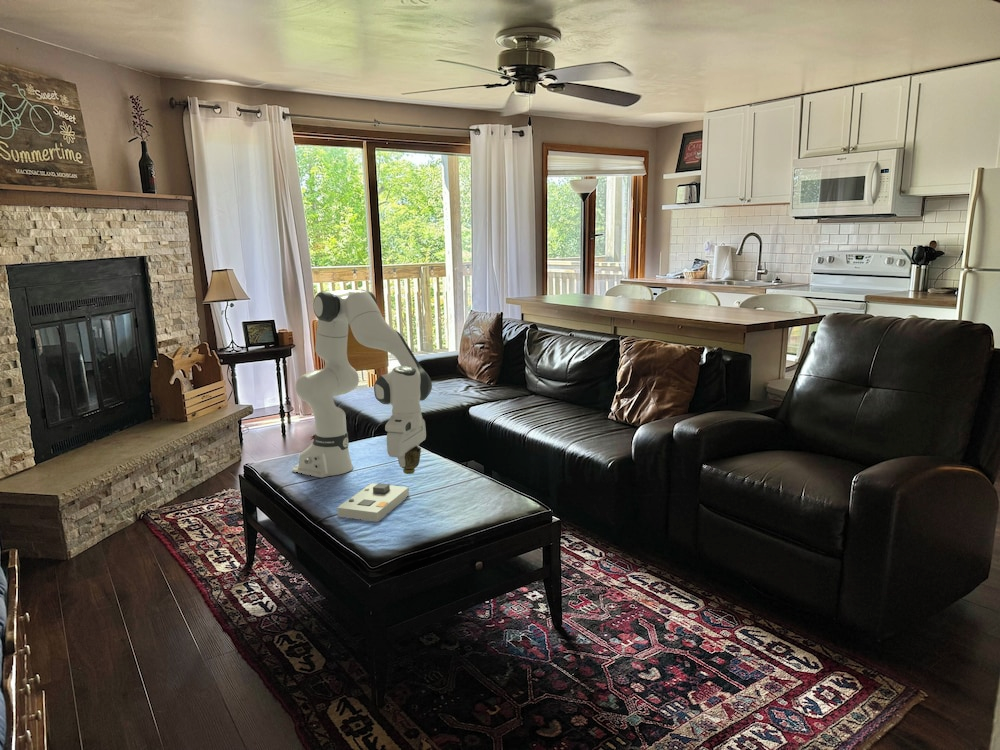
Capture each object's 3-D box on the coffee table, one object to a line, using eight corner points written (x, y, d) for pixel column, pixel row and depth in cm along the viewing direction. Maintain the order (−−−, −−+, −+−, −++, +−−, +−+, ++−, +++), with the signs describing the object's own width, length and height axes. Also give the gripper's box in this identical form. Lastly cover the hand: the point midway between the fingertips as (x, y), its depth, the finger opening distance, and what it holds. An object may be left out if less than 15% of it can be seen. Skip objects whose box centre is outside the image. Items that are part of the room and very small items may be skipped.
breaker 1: (358, 513, 208) (357, 504, 207) (364, 508, 211) (364, 499, 211) (369, 514, 207) (369, 505, 206) (375, 510, 210) (375, 500, 210)
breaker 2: (373, 496, 217) (372, 487, 216) (379, 492, 220) (378, 483, 220) (384, 497, 215) (383, 488, 215) (390, 493, 219) (389, 484, 219)
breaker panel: (337, 516, 206) (337, 506, 205) (372, 491, 226) (371, 482, 225) (377, 521, 201) (377, 511, 201) (409, 495, 222) (408, 486, 221)
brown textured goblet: (407, 468, 210) (407, 444, 209) (425, 472, 206) (425, 447, 205) (392, 473, 204) (391, 448, 203) (410, 477, 200) (410, 451, 199)
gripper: (412, 410, 212) (413, 451, 215) (382, 427, 193) (384, 472, 196) (430, 411, 210) (431, 452, 213) (401, 429, 191) (403, 474, 194)
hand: (408, 462), depth 204 cm, fingers closed on brown textured goblet, 6 cm apart
